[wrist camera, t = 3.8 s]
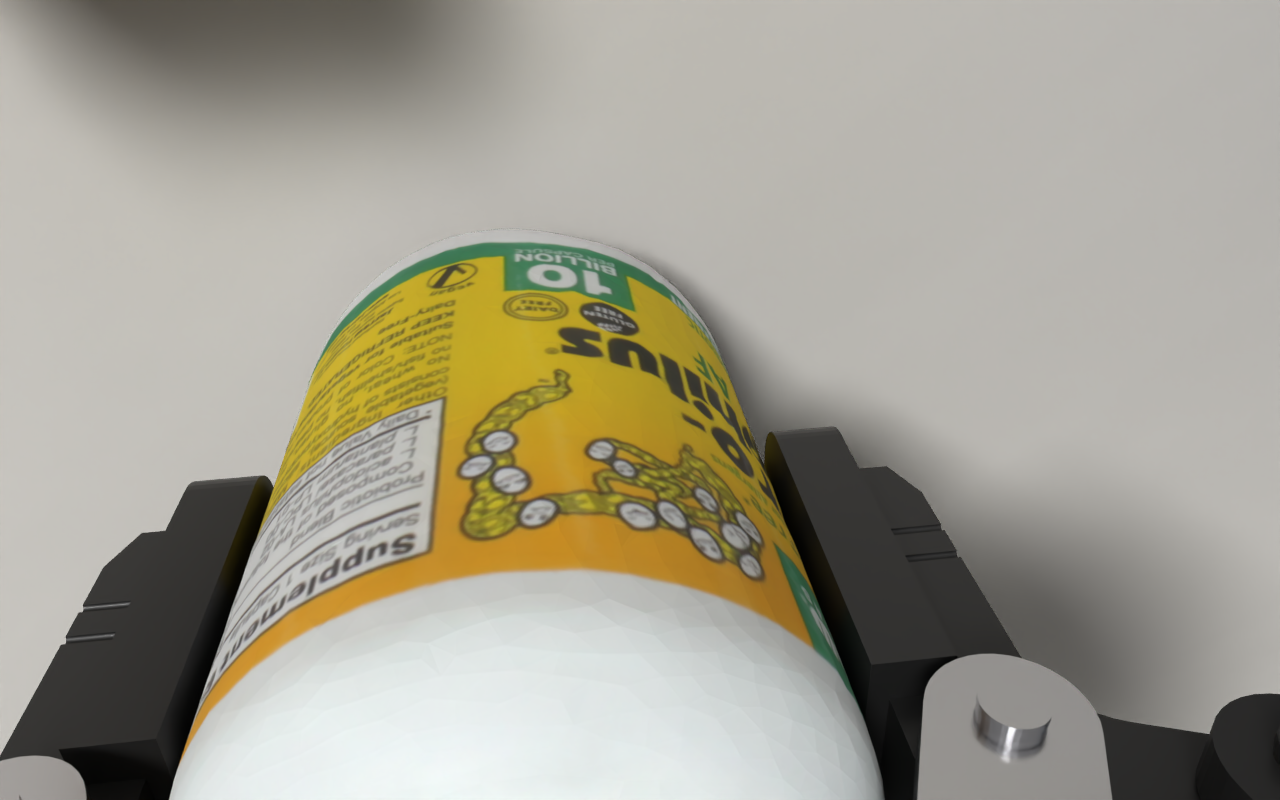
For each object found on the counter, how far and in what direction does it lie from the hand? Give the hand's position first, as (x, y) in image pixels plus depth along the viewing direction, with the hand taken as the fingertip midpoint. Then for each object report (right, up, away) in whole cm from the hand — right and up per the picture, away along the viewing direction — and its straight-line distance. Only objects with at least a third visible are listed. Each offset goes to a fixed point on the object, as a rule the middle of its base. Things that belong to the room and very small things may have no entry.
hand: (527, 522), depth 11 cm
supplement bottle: (0, +1, +2) cm, 3 cm away
